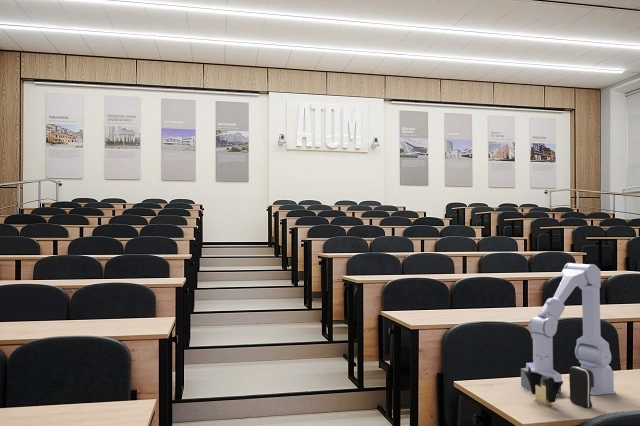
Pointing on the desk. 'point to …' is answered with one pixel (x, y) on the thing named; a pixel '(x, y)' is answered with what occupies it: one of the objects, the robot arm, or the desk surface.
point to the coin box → (526, 383)
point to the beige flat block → (541, 394)
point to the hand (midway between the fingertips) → (543, 398)
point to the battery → (581, 385)
